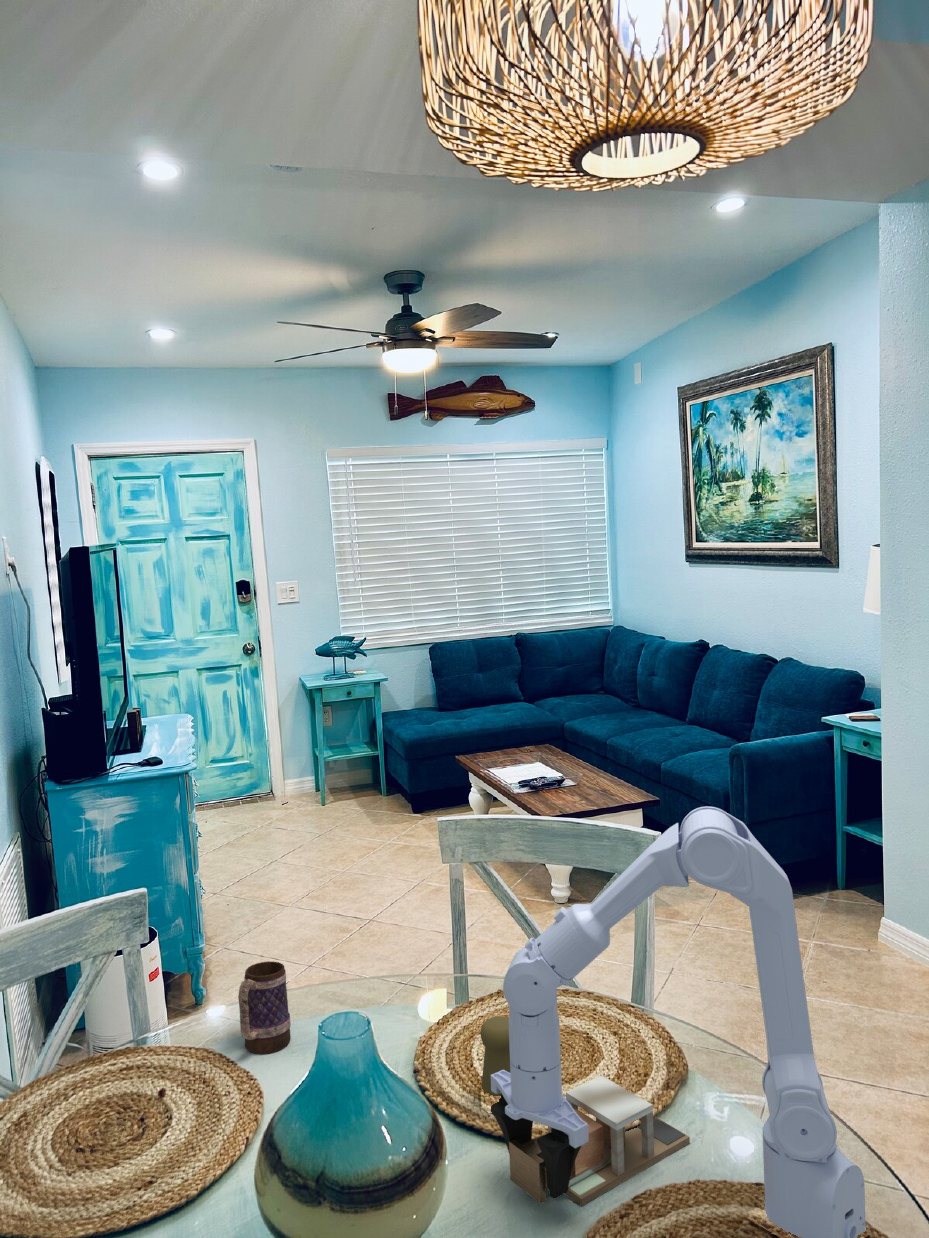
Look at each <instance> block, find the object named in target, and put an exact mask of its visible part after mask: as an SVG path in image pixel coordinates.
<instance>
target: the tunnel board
mask: <svg viewBox="0 0 929 1238" xmlns="http://www.w3.org/2000/svg"><path fill="white" fill-rule="evenodd" d="M565 1098H566V1100H567V1101H568V1102H569V1104H570V1105H571V1106H572V1108H573V1109H574V1110H575V1109H577V1110H579V1108H580V1109H581V1110H583V1111H585V1112H586V1113H587V1114H590V1115H592V1116H593V1117H595V1119H596V1118H598V1119H599V1120H601V1121H602V1122H604V1123H606V1124H607V1125H609V1126H610V1128H611V1156H612V1163H610V1164H608V1165H606V1166H604V1167H603V1168H601V1169H599V1170H597V1171H595V1172H594V1173H592V1174H590V1175H588V1176H587V1177H585V1178H583V1179H581V1180H579V1181H578V1182H576V1183H574V1184H572V1185H570V1186H569V1187H568V1191H567V1193H565V1194H564V1195H566V1196H567V1197H569V1198H570V1199H571V1200H572V1201H574V1202H575V1203H576V1204H578V1205H579V1206H581V1207H583V1206H585V1205H586V1204H588V1203H590V1202H592V1201H594V1200H595V1199H596V1198H599V1197H600V1196H602V1195H604V1194H605V1193H608V1191H611V1190H612V1189H614V1188H616V1187H617V1186H619V1185H621V1184H623V1183H624V1182H626V1181H628V1180H629V1179H631V1178H633V1177H635V1176H636V1175H638V1174H640V1173H641V1172H643V1171H644V1170H647V1169H649V1168H650V1167H651V1166H654V1165H655V1164H658V1163H659V1162H660V1161H662V1160H664V1159H666V1158H667V1157H669V1156H670V1155H672V1154H674V1153H675V1152H677V1151H679V1150H681V1149H682V1148H684V1147H686V1146H688V1145H690V1144H691V1140H690V1139H691V1137H690V1136H689V1135H688V1134H685V1133H684V1132H683V1131H680V1130H679V1129H677V1128H676V1127H673V1126H672V1125H671V1124H668V1123H666V1122H665V1121H663V1120H662V1119H660V1118H659V1117H656V1116H655V1118H654V1119H653V1116H654V1109H653V1108H654V1107H653V1105H654V1104H652V1103H651V1102H649V1101H647V1100H646V1099H644V1098H643V1097H640V1096H638V1095H636V1094H635V1093H633V1092H631V1091H629V1090H627V1089H626V1088H624V1087H622V1086H621V1085H619V1084H617V1083H616V1082H614V1081H612V1080H610V1079H609V1078H607V1077H605V1076H603V1075H599V1076H597V1077H595V1078H593V1079H591V1080H588V1081H586V1082H584V1083H583V1084H580V1085H578V1086H576V1087H574V1088H572V1089H570V1090H568V1091H565ZM639 1118H641V1125H640V1126H637V1128H634V1129H631V1130H629V1131H626V1132H625V1146H624V1143H623V1127H624V1126H626V1125H628V1124H630V1123H632V1122H634V1121H636V1120H638V1119H639Z"/></svg>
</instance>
